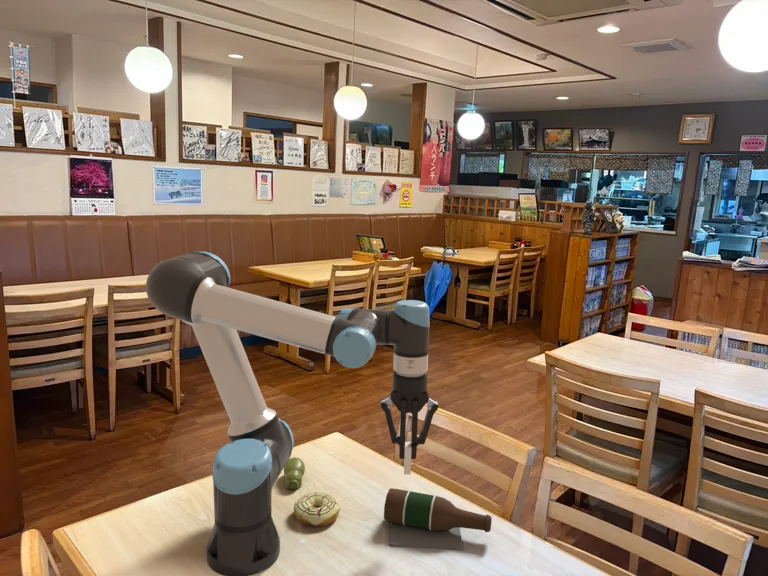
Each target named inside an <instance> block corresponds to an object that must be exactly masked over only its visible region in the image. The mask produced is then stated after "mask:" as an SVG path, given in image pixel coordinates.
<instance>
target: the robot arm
mask: <svg viewBox="0 0 768 576" xmlns="http://www.w3.org/2000/svg"><path fill="white" fill-rule="evenodd" d="M230 284H231V274H230V270H229V268H228V266H227V264H226V263H225V261H224V260H223V259H221V258H220V257H219V256H218V255H216V254H213V253H211V252H208V251H191V252H188V253H185V254H183V255H178V256H176V257H173V258H172V257H171V258H168V259H165V260H162V261H161V262H159V263H157V264H156V265H154V267H153V268H152V269H151V270H150V271H149V274H148V276H147V278H146V283H145V291H146V296H147V299H148V301H149V302H150V304H151V305H152V306H153V307H154V308H155V309H156V310H157V311H158V312H160V313H161V314H163V315H165V316H168V317H170V318H173V319H175V320H176V319H177V320H179V321H181V322H183V323H185V324H188V326H190V327H192V330H193V332H194V334H195V337H196V340H197V342H198V345H199V347H200V349H201V352H202V354H203V356H204V360H205V362H206V365H207V367H208V369H209V372H210V374H211V377H212V379H213V381H214V384H215V386H216V389H217V392H218V395H219V397H220V399H221V401H222V404H223V406H224V408H225V410H226V413H227V415H228V419H229V420H230V425H229V427H228V429H227V435H228V438H229V440H230V443H229V442H228V443H227V444H225V445H223V447H221V448H220V449H219V450H218V451H217V453H216V454H215V456H214V459H213V465H212V472H211V473H212V475H211V476H212V484H213V485H212V486H213V508H214V510H213V511H214V524H213V527H212V528H211V529H212V530H211V534H210V536H209V538H208V542H207V546H206V562H207V565H208V567H209V568H210V569H211V570H212V571H213V572H215V573H216V574H217V575H221V576H253V575H256V574H259V573H261V572H263V571H265V570H267V569H269V568H271V566H272V565H273V564H274V563H275V562H276V561H277V559H278V558H279V556H280V553H281V539H280V535H279V532H278V529H277V528H276V524H275V522H274V519H273V516H272V515H273V514H272V492H273V491H272V490H273V487H274V485H275V483H276V482H277V480H278V478H279V477H280V474H281V473H282V471H284V466H285V465H286V464H287V462H288V460H289V459H290V458H291V456H292V453H293V452H292V451H293V449H294V444H295V443H294V434H293V432H292V429H291V428H290V426H289V425H288V423H287V422H286V421H284V420H281V419H280V418H279V416H278V413H277V411H276V410H275V409H272V408H270V407H268V406H267V404H266V401H265V398H264V396H263V394H262V392H261V389H260V386H259V383H258V381H257V379H256V376H255V373H254V371H253V369H252V366H251V364H250V361H249V359H248V355H247V353H246V350H245V348H244V346H243V343H242V341H241V338H240V336H239V333H238V331H240V332H243V333H247V334H251V335H254V336H258V337H262V338H266V339H269V340H272V341H276V342H279V343H283V344H287V345H290V346H294V347H298V348H302V349H305V350H309V351H313V352H315V353H320V354H323V355H328V356H331V357H334V359H335V360H336V361H337V362H338V363H339V365H341V366H343V367H345V368H348V369H359V368H362V367H363V366H365V365H366V364H368V362H369V361H370V360H371V358H372V357H373V355H374V354H375V352H376V350H377V349H376V348H377V345H378V346H379V345H380V346H381V345H384V346H385V345H387V346H390V345H391V346H392V345H393V368H392V370H393V373H392V390H391V392H390V395H389V397H387V398H382V399H381V400H380V408H381V409H382V411H383V412H384V415H385V418H386V423H387V427H388V431H389V436H390V440H391V443H392V444H393V445H394V444H396V445H398V446H399V447H398V448H399V451H398V452H399V455H398V457H399V459H401V460H403V475H410V476H411V474H412V471H411V470H412V460H416V459H417V449H418V446H420V445H424V444H426V441H427V437H428V434H429V431H430V427H431V423H432V421H433V417H434V415H435V414H436V413H437V411H438V409H439V402H438V401H437V400H433V399H431V397H430V395H429V393H428V373H427V372H428V370H429V344H430V329H431V328H430V327H431V325H430V324H431V322H430V319H431V318H430V315H431V314H430V307H429V305H428V303H426V302H424V301H421V300H418V299H417V300H415V299H407V300H405V299H403V300H398V301H396V302H395V304H394V308H393V309H388V310H387V309H376V308H375V309H373V308H372V309H371V308H359V307H353V308H343V309H341V310H340V311H339V315H338V317H337V316H334V315H330V314H326V313H322V312H320V311H315V310H311V309H309V308H305V307H301V306H298V305H294V304H290V303H286V302H283V301H278V300H275V299H272V298H268V297H264V296H261V295H257V294H254V293H253V294H252V293H249V292H246V291H241V290H238V289H234V288H231V287H230ZM392 403H393V404H392ZM392 405H394V407H395V408H396V409H397V410H398V411H399V412H400V422H399V435H398V434H397V429H396V425H395V419H394V417H393V412H392V407H393V406H392ZM425 405H426V408H427V410H426V414H425V415H424V420H423V422H422V426H421V430H420V434H419V436H418V423H419V421H418V420H419V419H418V417H419V412H421V410H423V408H424V407H425ZM407 414H411V438H410V440H411V441H406V430H407V429H406V426H407V425H406V424H407Z"/></svg>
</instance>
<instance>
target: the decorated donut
mask: <svg viewBox="0 0 768 576" xmlns="http://www.w3.org/2000/svg"><path fill="white" fill-rule="evenodd" d="M340 510H341V507H340V503H339V501H338V500H337V499H336V498H335V497H334V496H332V495H330V494H328V493H324V492H309V493H306V494H304V495H302V496H299V498H298V499H296V500H295V502H294V504H293V512H294V514H295V517H296V519H297V520H298V521H300V523H302V524H304V525H306V526H307V525H308V526H314V527H323V526H328V525H330V524H333V523H334V522H336V521H337V518H338V516H339V513H340Z"/></svg>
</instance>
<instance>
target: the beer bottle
mask: <svg viewBox="0 0 768 576" xmlns="http://www.w3.org/2000/svg"><path fill="white" fill-rule="evenodd" d="M384 501H385V502H384V506H383V519H384V521H386V522H387V523H389V524H391V523H393V524H397V525H402V526H407V527H412V528H418V529H423V530H428V531H434V532H444V531H448V530H450V529H452V528H460V529H462V528H463V529H470V530H471V529H472V530H479V531H484V532H485V533H490V532H491V531H492V521H493V520H492V518H493V517H492V516H491V515H490V514H486V515H485V514H480V513H476V512H473V511H468V510H465V509H462V508H459V507H456V506H455V505H454V504H453V503H452V502H451V501H449V500H448V499H446V498H445V497H442V496H438V495H432V494H427V493H421V492H416V491H412V490H411V491H410V490H405V489H401V488H400V489H399V488H391V487H390V488H389V489H388V492H387V493H386V496H385V500H384Z"/></svg>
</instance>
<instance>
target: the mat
mask: <svg viewBox="0 0 768 576" xmlns="http://www.w3.org/2000/svg"><path fill="white" fill-rule="evenodd" d="M389 533H390V536H389V537H390V538H389V546H390V547H405V548H406V547H409V548H426V549H427V548H428V549H444V550H445V549H448V550H462V551H463V549H464V547H463V546H464V544H463V541H462V532H461V528H452V529H450V530H448V531H444V532H434V531H428V530H423V529H418V528H412V527H407V526H402V525H397V524H393V523H390V532H389Z"/></svg>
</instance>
